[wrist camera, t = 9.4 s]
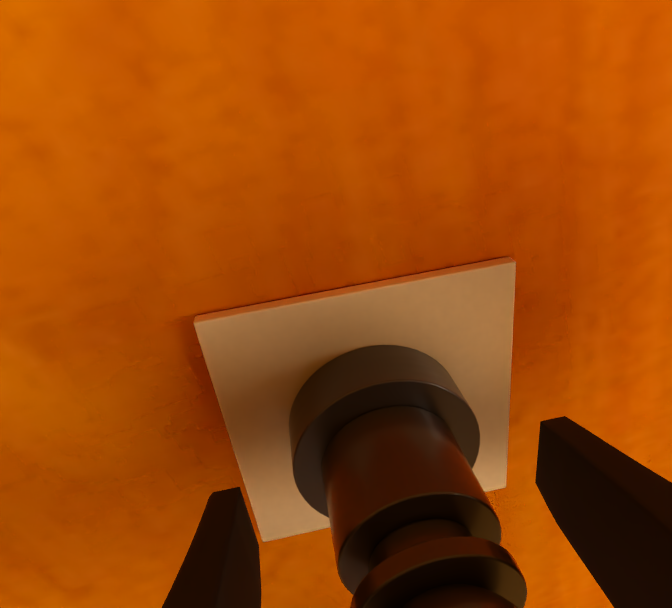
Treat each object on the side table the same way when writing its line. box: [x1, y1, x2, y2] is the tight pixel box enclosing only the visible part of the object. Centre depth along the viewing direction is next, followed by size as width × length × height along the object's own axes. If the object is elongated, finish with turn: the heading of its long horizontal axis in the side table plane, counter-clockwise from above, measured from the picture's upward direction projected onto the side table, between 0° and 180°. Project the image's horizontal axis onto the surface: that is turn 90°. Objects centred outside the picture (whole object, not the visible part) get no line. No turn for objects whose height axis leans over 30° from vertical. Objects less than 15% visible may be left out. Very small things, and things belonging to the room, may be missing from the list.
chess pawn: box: [289, 345, 527, 608], centre depth 10 cm, size 5×5×8 cm
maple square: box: [193, 257, 516, 542], centre depth 13 cm, size 8×8×1 cm
